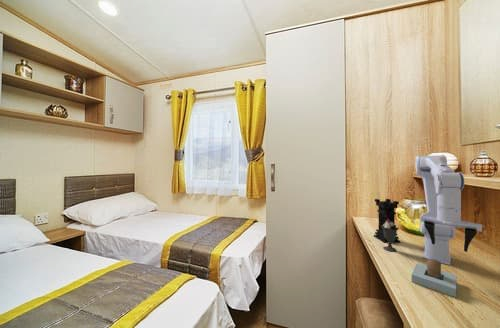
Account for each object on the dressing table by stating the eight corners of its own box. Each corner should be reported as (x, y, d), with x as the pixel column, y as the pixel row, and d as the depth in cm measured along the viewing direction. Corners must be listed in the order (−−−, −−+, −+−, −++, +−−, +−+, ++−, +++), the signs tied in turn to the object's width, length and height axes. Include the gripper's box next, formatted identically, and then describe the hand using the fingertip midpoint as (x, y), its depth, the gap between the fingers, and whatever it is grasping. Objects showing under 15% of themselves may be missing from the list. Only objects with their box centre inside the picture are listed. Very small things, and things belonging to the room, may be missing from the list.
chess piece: (400, 242, 94) (400, 201, 94) (383, 242, 94) (383, 202, 94) (388, 236, 102) (388, 198, 102) (373, 236, 102) (373, 198, 102)
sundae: (381, 244, 92) (381, 213, 92) (399, 248, 88) (399, 215, 88) (380, 249, 87) (379, 216, 87) (398, 254, 83) (398, 219, 83)
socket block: (416, 270, 71) (416, 263, 71) (456, 282, 63) (456, 275, 63) (411, 281, 64) (411, 274, 64) (455, 297, 56) (455, 289, 56)
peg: (427, 278, 66) (427, 257, 66) (440, 281, 64) (440, 260, 64) (427, 282, 63) (427, 261, 63) (441, 286, 61) (441, 264, 61)
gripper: (418, 205, 69) (419, 243, 69) (482, 213, 58) (482, 258, 58) (421, 203, 74) (422, 238, 74) (481, 209, 63) (481, 251, 63)
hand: (448, 246), depth 66 cm, fingers open, 7 cm apart
